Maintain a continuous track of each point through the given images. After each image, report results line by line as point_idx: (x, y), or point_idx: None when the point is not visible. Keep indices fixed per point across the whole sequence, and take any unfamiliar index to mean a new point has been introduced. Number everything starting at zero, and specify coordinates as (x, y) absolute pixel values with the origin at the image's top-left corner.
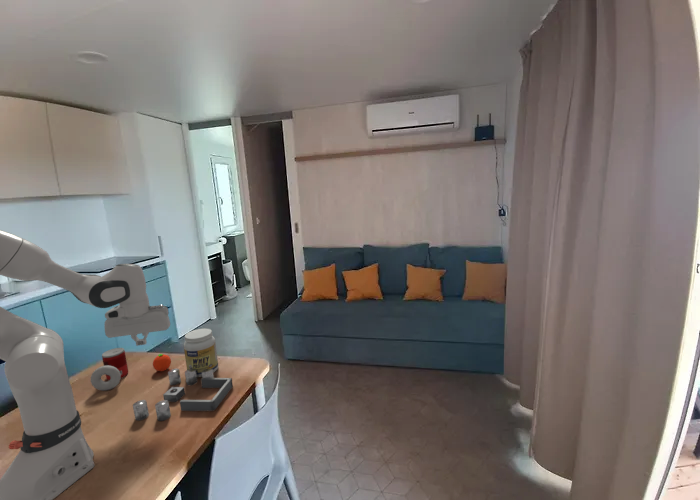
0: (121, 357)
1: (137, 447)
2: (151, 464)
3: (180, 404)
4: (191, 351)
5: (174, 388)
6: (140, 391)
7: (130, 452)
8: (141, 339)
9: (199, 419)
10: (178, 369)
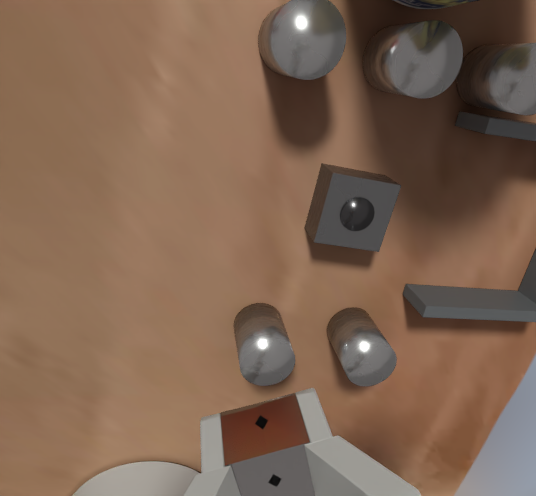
0: None
1: None
2: None
3: (417, 309)
4: None
5: (352, 191)
6: (112, 118)
7: None
8: (275, 466)
9: (478, 340)
10: (336, 16)
